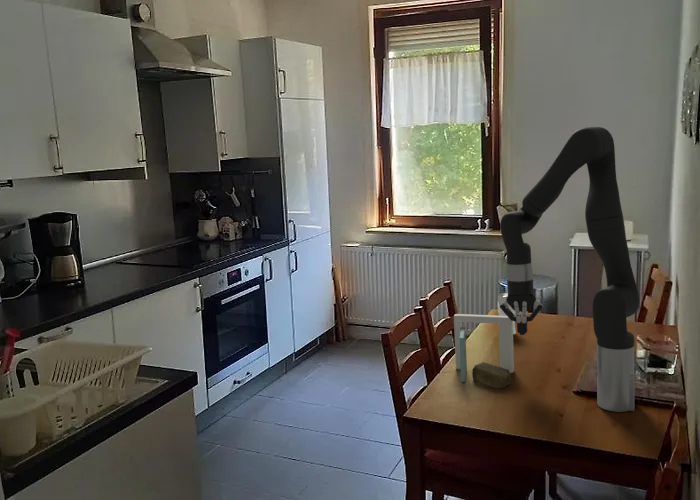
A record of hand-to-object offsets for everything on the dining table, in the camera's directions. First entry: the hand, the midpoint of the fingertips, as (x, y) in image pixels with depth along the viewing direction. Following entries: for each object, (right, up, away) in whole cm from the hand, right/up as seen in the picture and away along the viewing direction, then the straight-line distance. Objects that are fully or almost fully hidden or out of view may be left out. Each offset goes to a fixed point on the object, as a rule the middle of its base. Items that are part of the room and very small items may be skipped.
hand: (522, 334), depth 193 cm
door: (-16, -14, +10) cm, 23 cm away
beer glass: (+8, -6, +51) cm, 52 cm away
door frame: (-9, -13, +14) cm, 22 cm away
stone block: (-9, -16, +3) cm, 18 cm away
